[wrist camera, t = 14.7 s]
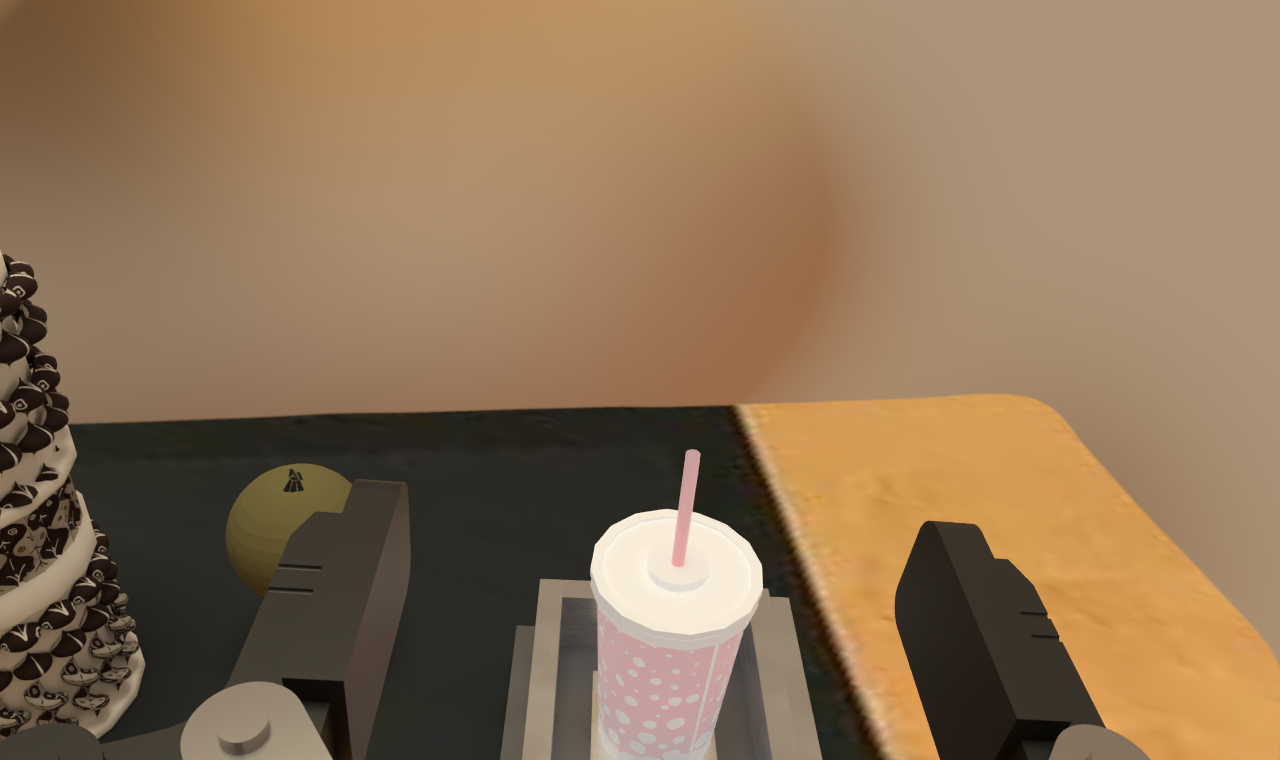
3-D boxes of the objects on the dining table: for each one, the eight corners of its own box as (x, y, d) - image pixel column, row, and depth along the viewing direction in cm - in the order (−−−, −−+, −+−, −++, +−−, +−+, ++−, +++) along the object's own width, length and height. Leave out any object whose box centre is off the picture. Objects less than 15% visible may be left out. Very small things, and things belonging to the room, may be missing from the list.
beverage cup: (681, 647, 40) (721, 385, 33) (759, 758, 36) (827, 486, 28) (554, 696, 38) (566, 423, 30) (623, 823, 33) (657, 541, 26)
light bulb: (404, 656, 41) (389, 488, 36) (284, 721, 38) (248, 546, 33) (347, 585, 45) (326, 420, 39) (233, 638, 41) (192, 468, 36)
